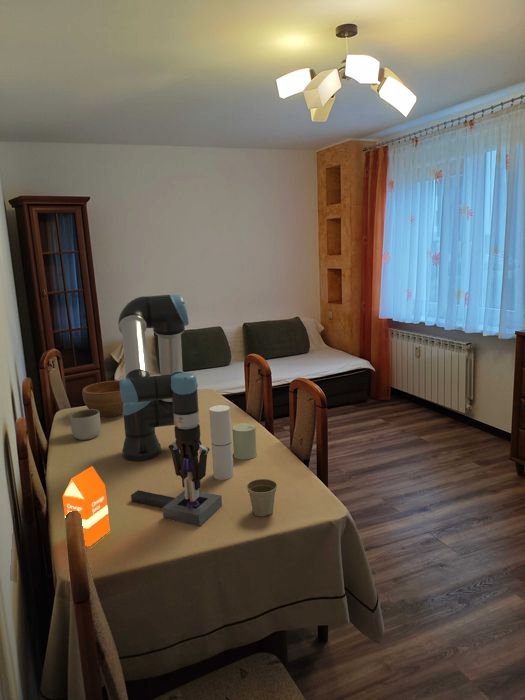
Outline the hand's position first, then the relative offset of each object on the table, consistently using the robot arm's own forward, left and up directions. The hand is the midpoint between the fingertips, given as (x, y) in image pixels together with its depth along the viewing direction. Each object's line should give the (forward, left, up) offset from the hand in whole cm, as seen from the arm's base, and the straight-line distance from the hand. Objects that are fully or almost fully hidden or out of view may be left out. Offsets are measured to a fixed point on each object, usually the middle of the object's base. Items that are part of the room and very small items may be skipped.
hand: (192, 497), depth 154 cm
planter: (-81, +39, -5) cm, 90 cm away
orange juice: (-20, -23, -5) cm, 31 cm away
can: (-5, +45, -5) cm, 45 cm away
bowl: (-91, +66, -5) cm, 112 cm away
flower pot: (+20, +8, -5) cm, 22 cm away
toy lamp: (0, 0, -3) cm, 3 cm away
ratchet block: (-8, 0, -5) cm, 9 cm away
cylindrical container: (-4, +26, -5) cm, 27 cm away
